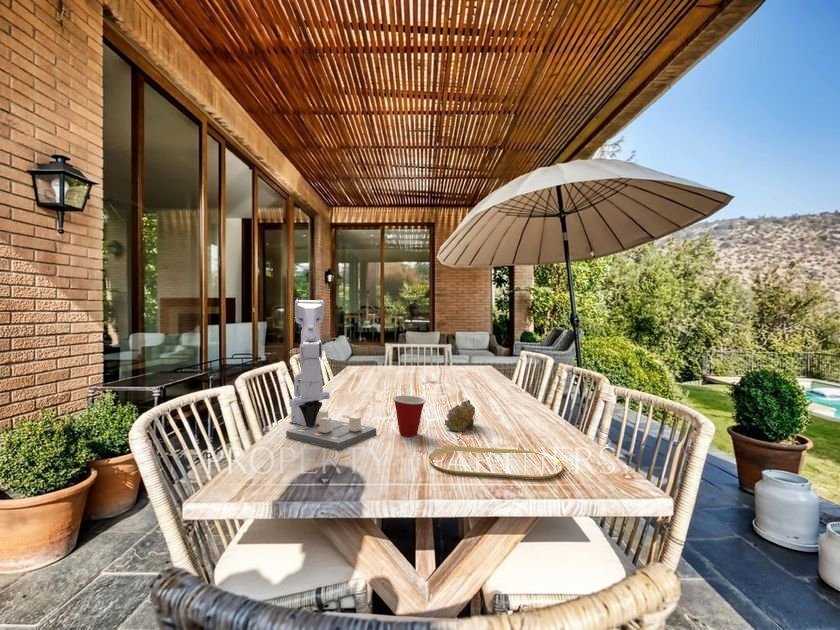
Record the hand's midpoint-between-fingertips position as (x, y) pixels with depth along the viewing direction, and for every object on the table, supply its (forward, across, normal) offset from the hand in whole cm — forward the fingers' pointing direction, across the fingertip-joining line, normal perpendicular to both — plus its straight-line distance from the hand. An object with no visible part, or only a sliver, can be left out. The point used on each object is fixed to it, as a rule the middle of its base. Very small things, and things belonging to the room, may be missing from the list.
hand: (310, 426), depth 124 cm
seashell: (+6, +42, -30) cm, 52 cm away
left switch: (+3, +12, +7) cm, 15 cm away
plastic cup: (+5, +24, -20) cm, 32 cm away
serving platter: (+6, +15, -53) cm, 55 cm away
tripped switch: (+3, +6, 0) cm, 7 cm away
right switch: (+3, +12, -7) cm, 15 cm away
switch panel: (+5, +10, 0) cm, 11 cm away
